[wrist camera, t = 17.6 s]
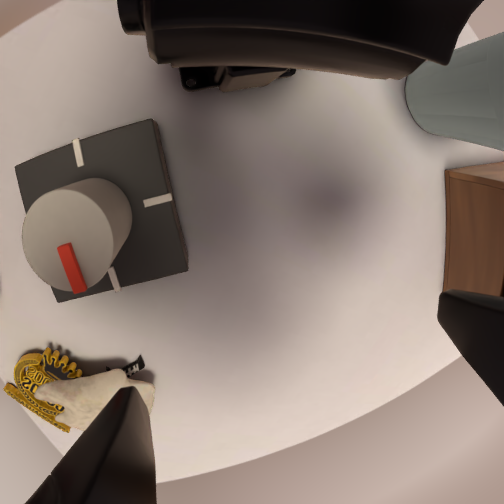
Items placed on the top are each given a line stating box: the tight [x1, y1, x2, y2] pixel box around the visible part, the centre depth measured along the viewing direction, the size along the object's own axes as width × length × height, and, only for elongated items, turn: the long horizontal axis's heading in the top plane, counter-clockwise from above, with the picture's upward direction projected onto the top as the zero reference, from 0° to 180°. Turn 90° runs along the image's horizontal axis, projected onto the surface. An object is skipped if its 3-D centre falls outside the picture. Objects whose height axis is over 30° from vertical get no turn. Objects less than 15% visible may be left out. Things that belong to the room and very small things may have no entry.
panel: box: [15, 119, 189, 303], centre depth 16 cm, size 8×8×3 cm
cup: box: [405, 32, 504, 151], centre depth 14 cm, size 8×8×10 cm
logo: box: [4, 347, 82, 433], centre depth 19 cm, size 7×1×8 cm
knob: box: [22, 178, 132, 294], centre depth 12 cm, size 4×4×5 cm
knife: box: [106, 355, 145, 378], centre depth 20 cm, size 10×2×1 cm, turn 119°
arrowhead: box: [34, 369, 155, 431], centre depth 20 cm, size 8×2×10 cm
